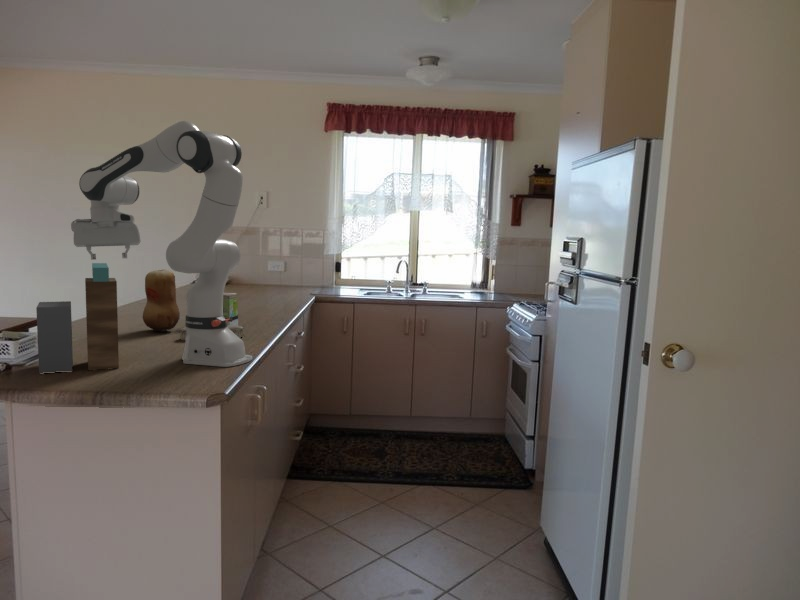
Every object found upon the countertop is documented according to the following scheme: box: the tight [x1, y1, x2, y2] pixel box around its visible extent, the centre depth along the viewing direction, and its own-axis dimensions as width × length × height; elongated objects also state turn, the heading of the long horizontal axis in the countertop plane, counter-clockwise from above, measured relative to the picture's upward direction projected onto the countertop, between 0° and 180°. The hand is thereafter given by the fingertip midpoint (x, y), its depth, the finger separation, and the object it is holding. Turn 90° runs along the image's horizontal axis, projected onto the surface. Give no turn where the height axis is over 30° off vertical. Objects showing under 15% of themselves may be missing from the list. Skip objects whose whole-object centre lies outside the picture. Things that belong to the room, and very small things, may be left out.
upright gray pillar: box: [35, 300, 74, 374], centre depth 164 cm, size 12×8×19 cm, turn 29°
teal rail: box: [91, 262, 110, 282], centre depth 171 cm, size 20×4×4 cm, turn 29°
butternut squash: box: [142, 268, 181, 333], centre depth 226 cm, size 14×13×25 cm
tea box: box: [223, 292, 239, 325], centre depth 240 cm, size 15×10×15 cm, turn 84°
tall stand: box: [84, 277, 120, 371], centre depth 170 cm, size 12×8×26 cm, turn 29°
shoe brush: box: [179, 324, 245, 341], centre depth 217 cm, size 24×8×5 cm, turn 117°
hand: (109, 258), depth 191 cm, fingers open, 8 cm apart
